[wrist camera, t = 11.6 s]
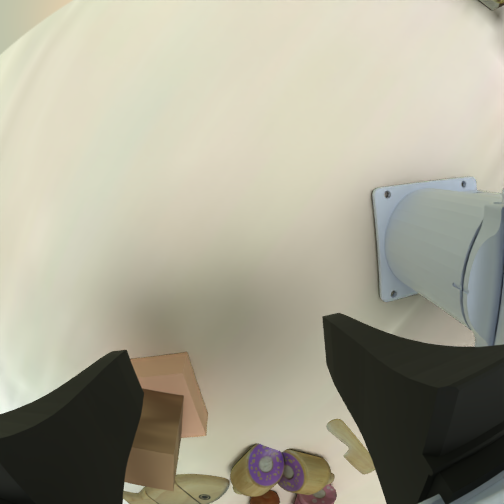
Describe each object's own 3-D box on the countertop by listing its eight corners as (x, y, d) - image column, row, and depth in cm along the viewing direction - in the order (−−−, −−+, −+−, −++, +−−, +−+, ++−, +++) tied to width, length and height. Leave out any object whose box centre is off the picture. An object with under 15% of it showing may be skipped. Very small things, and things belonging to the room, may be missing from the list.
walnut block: (183, 395, 19) (173, 454, 14) (181, 434, 20) (173, 491, 15) (126, 384, 19) (102, 439, 14) (128, 424, 20) (110, 478, 14)
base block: (187, 349, 22) (182, 372, 19) (207, 410, 23) (206, 435, 20) (113, 358, 22) (101, 380, 19) (139, 416, 23) (132, 439, 20)
